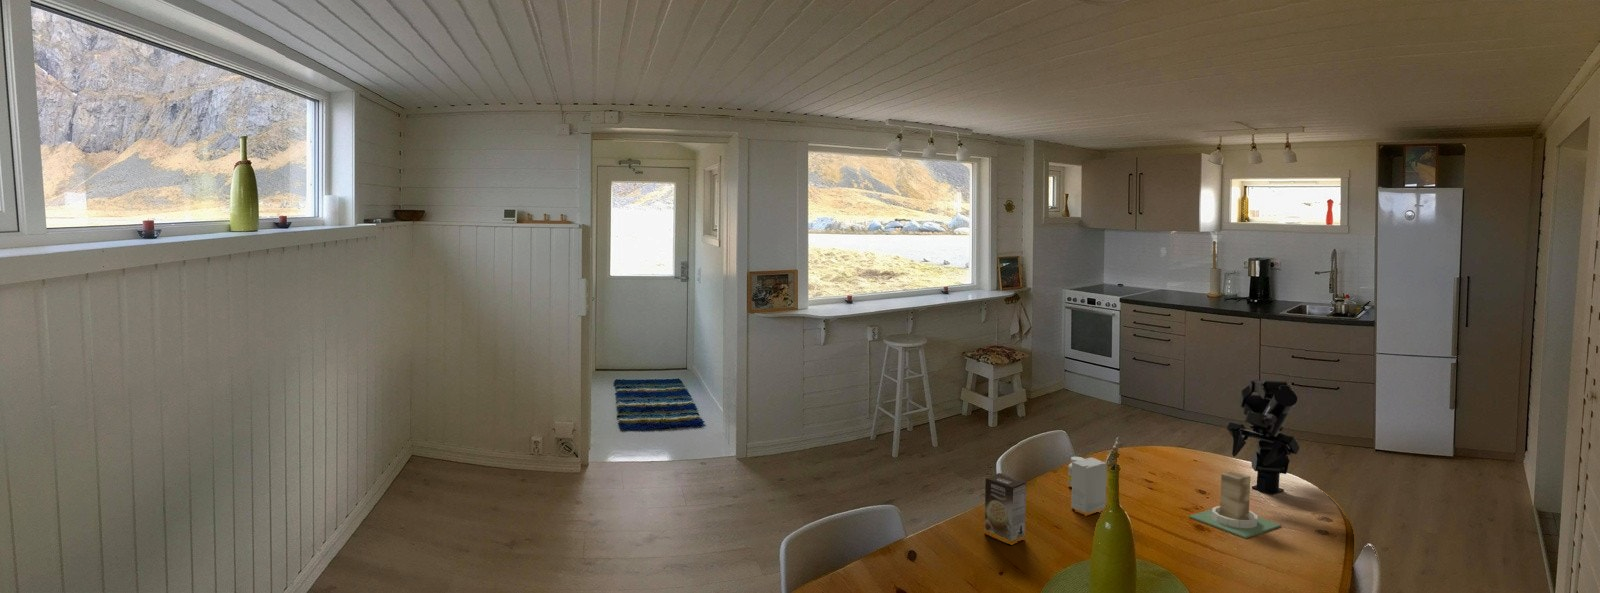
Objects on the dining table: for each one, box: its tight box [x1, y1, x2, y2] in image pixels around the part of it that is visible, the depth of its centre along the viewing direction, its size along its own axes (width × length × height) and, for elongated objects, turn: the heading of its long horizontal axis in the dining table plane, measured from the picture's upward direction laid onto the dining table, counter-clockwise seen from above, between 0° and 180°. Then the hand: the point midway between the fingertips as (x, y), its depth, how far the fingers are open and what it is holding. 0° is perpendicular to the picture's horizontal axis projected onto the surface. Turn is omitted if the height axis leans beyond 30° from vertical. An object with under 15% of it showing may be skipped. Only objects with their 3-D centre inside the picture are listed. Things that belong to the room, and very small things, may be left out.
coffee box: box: [984, 472, 1027, 541], centre depth 193 cm, size 9×6×16 cm
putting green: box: [1188, 505, 1282, 539], centre depth 202 cm, size 16×16×2 cm
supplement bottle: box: [1067, 456, 1085, 486], centre depth 230 cm, size 5×5×10 cm
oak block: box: [1219, 470, 1252, 520], centre depth 202 cm, size 5×5×13 cm
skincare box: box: [1070, 457, 1108, 513], centre depth 211 cm, size 8×6×15 cm
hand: (1248, 459), depth 213 cm, fingers open, 9 cm apart
